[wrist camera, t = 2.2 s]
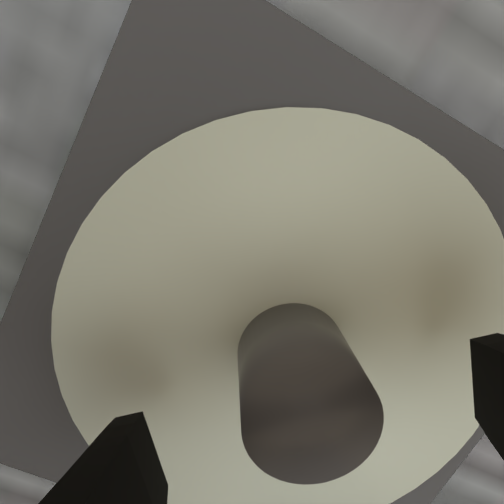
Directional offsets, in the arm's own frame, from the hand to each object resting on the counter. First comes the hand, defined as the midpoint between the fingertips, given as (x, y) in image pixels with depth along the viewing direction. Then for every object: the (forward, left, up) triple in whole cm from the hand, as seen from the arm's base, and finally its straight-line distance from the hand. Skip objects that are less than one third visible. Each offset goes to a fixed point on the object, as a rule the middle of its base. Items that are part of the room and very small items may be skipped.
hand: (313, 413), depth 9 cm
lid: (0, 0, -3) cm, 3 cm away
